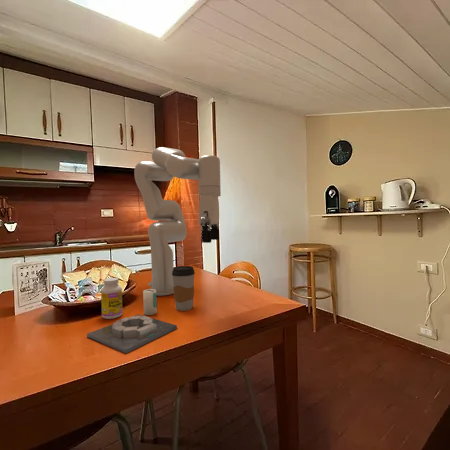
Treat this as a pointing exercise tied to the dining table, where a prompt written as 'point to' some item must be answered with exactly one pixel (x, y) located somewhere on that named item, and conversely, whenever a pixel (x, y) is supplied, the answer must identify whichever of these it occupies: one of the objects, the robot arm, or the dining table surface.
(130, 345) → the hub plate
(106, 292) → the supplement bottle
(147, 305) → the knob
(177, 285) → the coffee cup
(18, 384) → the dining table surface
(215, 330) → the dining table surface
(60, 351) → the dining table surface
